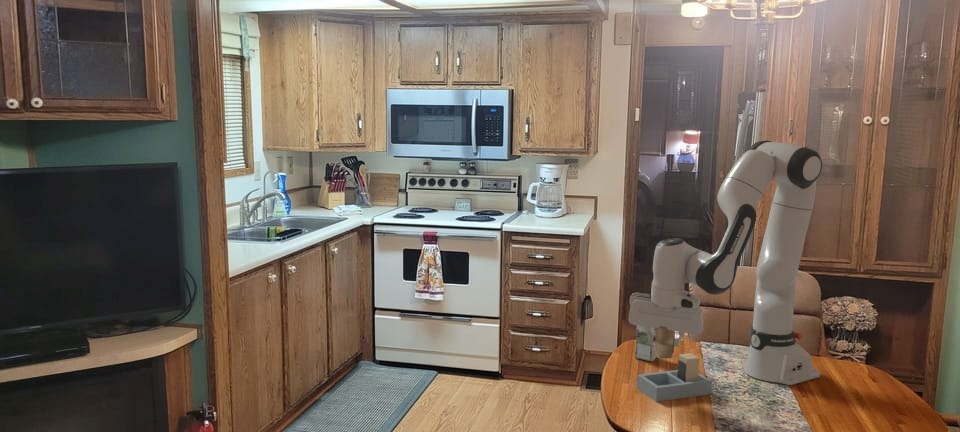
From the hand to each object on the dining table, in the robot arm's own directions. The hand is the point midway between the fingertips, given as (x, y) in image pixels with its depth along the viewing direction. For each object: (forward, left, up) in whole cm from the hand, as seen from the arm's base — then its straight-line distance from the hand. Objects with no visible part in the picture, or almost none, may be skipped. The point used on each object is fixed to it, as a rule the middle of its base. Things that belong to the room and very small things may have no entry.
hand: (663, 343), depth 192 cm
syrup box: (-11, -26, -15) cm, 32 cm away
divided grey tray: (-4, 0, -15) cm, 15 cm away
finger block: (0, 0, -4) cm, 4 cm away
